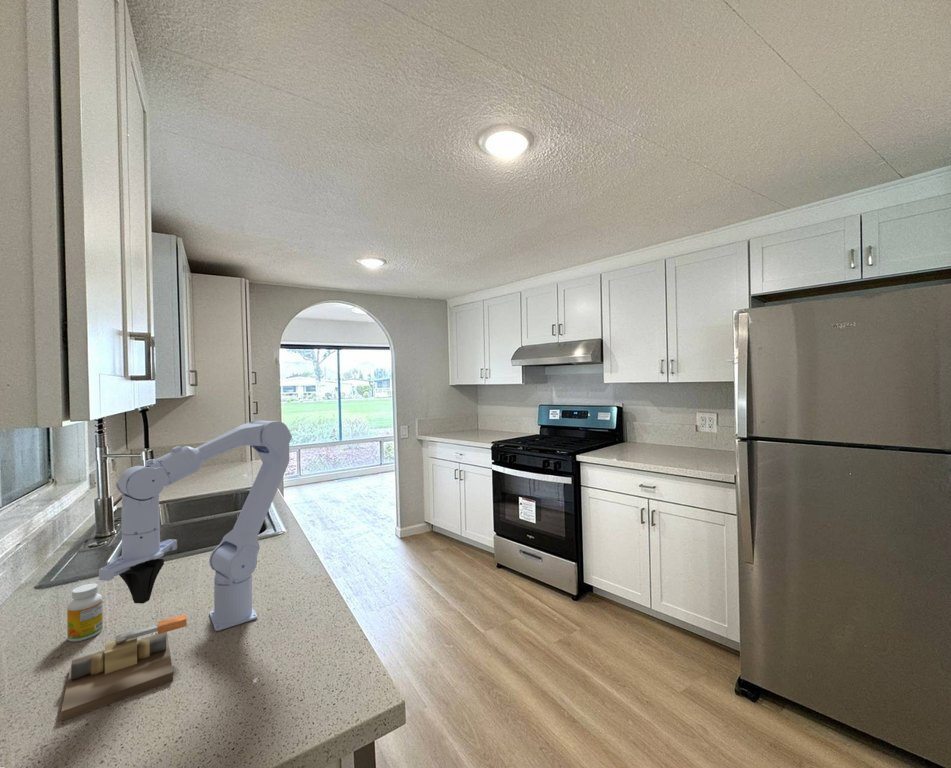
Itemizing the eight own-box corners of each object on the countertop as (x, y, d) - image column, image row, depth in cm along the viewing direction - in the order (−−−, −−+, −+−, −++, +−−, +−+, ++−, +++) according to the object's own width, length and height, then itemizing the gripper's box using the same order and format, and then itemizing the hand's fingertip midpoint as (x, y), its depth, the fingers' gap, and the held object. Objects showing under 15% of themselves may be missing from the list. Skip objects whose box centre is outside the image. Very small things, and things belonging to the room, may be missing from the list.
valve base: (72, 668, 78) (71, 640, 78) (166, 638, 86) (166, 613, 87) (61, 721, 65) (60, 688, 65) (173, 680, 74) (172, 651, 74)
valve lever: (114, 646, 75) (114, 638, 75) (116, 640, 77) (115, 632, 77) (186, 626, 82) (186, 618, 82) (186, 621, 83) (186, 614, 83)
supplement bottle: (64, 636, 88) (64, 589, 88) (99, 624, 92) (98, 579, 92) (70, 645, 85) (70, 596, 85) (105, 633, 89) (105, 586, 89)
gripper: (124, 544, 73) (124, 624, 73) (190, 518, 88) (190, 584, 88) (87, 543, 74) (88, 621, 74) (159, 517, 89) (159, 583, 88)
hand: (141, 601), depth 81 cm, fingers closed
